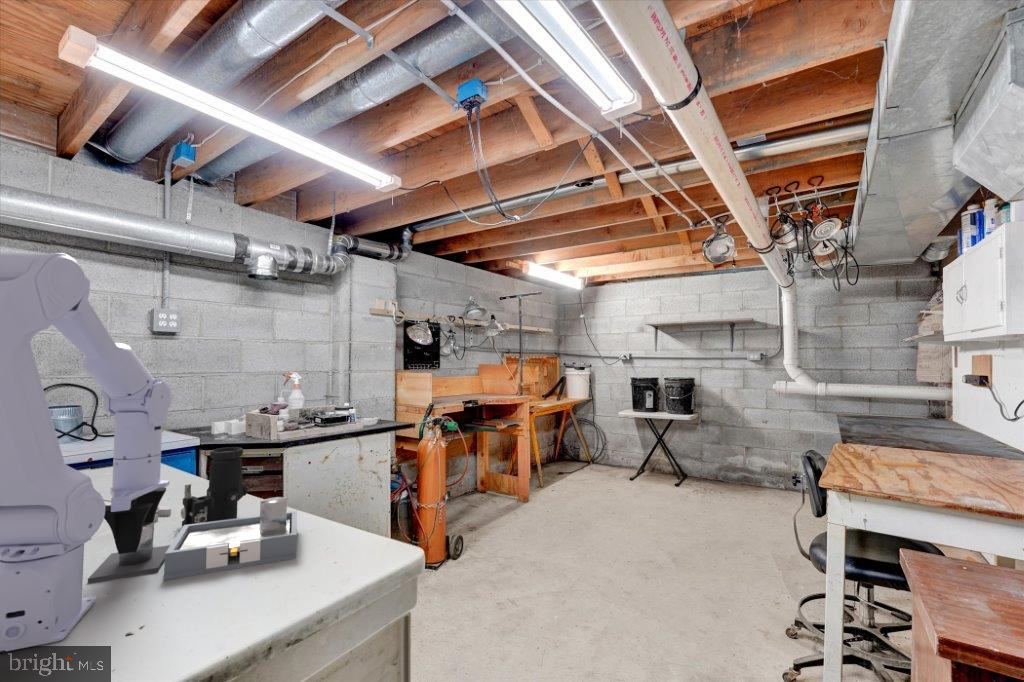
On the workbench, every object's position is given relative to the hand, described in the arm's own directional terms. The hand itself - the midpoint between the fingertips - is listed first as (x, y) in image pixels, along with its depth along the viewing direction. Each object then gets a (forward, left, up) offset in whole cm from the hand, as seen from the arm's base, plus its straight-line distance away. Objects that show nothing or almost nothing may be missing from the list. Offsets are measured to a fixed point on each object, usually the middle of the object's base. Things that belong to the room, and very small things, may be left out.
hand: (134, 544), depth 70 cm
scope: (+15, -9, -3) cm, 18 cm away
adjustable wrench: (+31, +9, -4) cm, 33 cm away
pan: (-2, -14, -1) cm, 14 cm away
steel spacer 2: (-1, -19, 0) cm, 19 cm away
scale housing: (-1, -14, -3) cm, 14 cm away
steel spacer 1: (0, 0, -2) cm, 2 cm away
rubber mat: (0, 0, -3) cm, 3 cm away
